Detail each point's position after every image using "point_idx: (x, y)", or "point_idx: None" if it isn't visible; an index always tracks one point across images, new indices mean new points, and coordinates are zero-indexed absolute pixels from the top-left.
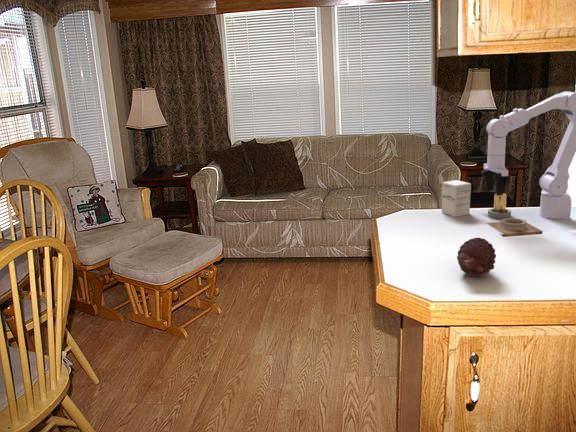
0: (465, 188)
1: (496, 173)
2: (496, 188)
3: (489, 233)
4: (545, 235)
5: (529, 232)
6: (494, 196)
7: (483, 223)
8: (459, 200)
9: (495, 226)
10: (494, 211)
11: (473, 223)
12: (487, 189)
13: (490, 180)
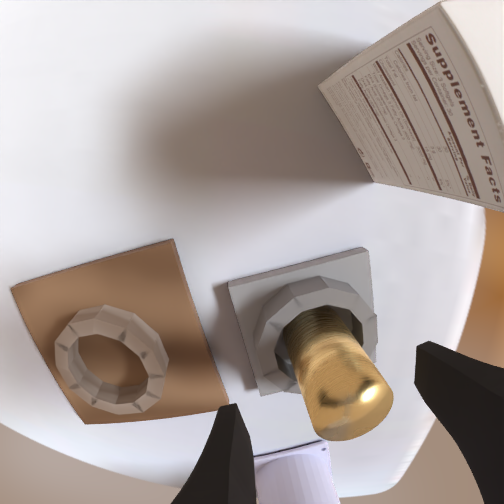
0: (473, 143)
1: (483, 495)
2: (207, 451)
3: (50, 233)
4: (77, 419)
5: (59, 385)
6: (359, 371)
7: (223, 232)
8: (383, 92)
9: (108, 278)
10: (313, 320)
11: (224, 175)
12: (422, 352)
13: (467, 420)
